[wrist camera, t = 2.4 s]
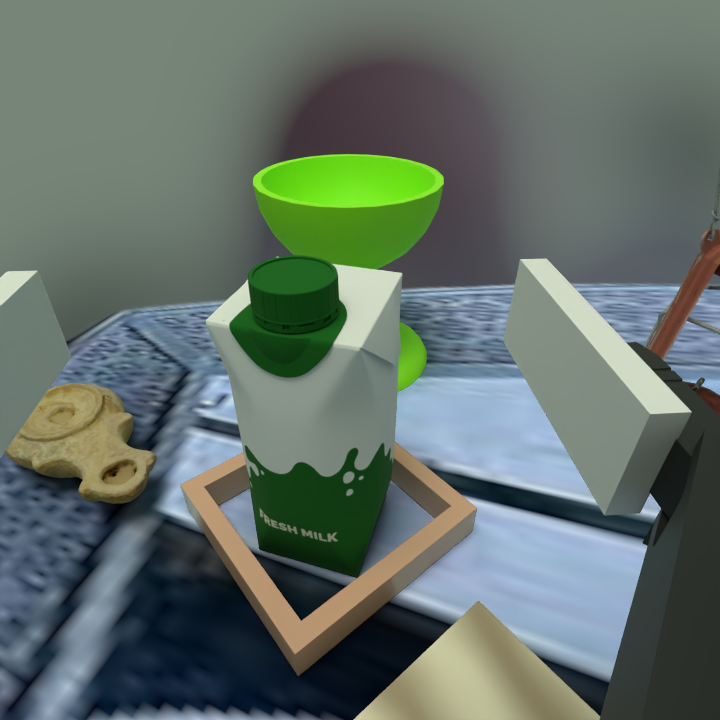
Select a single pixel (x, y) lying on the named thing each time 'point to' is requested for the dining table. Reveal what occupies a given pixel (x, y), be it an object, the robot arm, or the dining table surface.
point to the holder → (360, 596)
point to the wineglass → (353, 217)
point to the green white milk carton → (314, 402)
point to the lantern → (691, 303)
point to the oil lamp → (84, 443)
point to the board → (478, 680)
